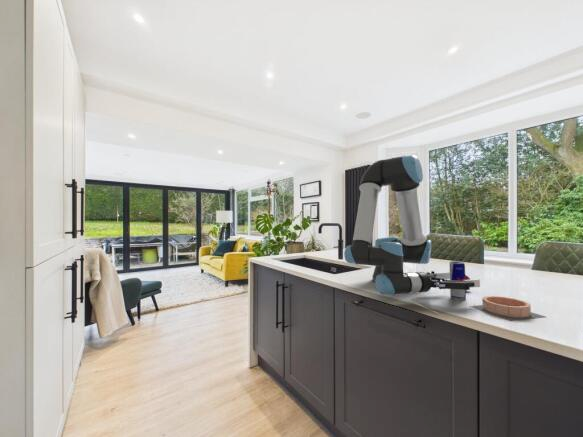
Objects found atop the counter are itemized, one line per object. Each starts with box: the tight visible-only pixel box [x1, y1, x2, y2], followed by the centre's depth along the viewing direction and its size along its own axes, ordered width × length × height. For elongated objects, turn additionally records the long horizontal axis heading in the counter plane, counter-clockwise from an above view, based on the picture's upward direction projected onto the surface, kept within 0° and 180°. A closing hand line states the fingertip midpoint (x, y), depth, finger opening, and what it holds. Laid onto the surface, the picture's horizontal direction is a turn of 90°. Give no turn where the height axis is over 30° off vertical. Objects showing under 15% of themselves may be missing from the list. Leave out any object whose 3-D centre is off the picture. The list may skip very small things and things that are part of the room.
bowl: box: [482, 295, 532, 318], centre depth 84 cm, size 12×12×3 cm
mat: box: [469, 304, 547, 322], centre depth 84 cm, size 14×14×1 cm
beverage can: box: [449, 260, 467, 301], centre depth 100 cm, size 5×5×15 cm
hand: (463, 279), depth 100 cm, fingers open, 13 cm apart
